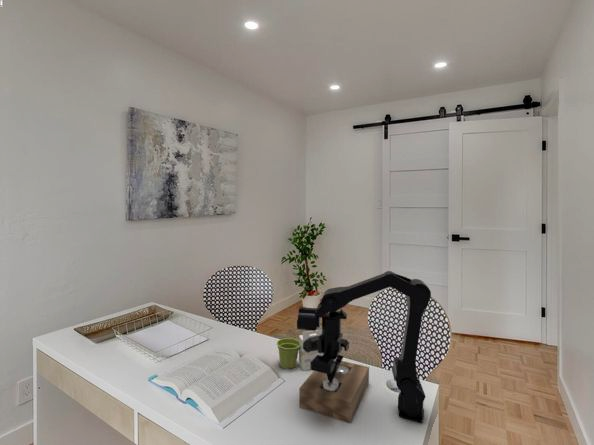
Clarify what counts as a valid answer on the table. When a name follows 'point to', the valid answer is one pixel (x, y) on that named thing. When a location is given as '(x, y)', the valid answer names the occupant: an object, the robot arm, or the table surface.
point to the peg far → (343, 370)
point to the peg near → (330, 384)
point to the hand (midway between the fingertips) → (330, 381)
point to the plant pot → (288, 352)
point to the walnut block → (335, 402)
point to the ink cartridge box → (303, 355)
